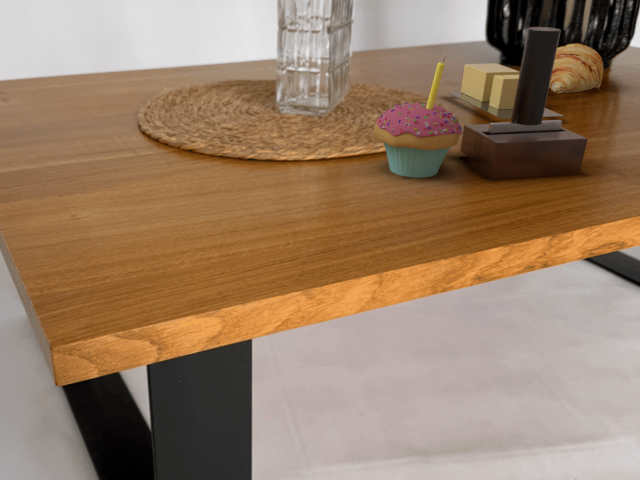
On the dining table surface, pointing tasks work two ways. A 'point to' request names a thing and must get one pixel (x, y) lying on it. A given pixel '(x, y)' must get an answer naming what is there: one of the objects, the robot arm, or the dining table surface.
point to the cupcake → (418, 134)
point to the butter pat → (503, 91)
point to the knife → (533, 85)
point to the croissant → (576, 69)
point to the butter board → (495, 111)
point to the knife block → (522, 152)
